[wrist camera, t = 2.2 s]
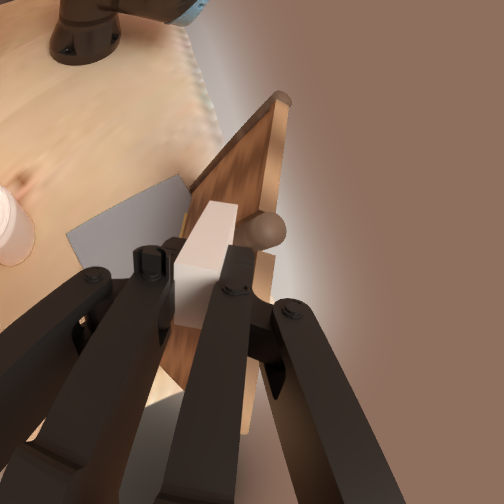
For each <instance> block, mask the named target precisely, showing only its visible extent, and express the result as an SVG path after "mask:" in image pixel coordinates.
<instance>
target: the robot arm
mask: <svg viewBox="0 0 504 504" xmlns="http://www.w3.org/2000/svg"><path fill="white" fill-rule="evenodd" d="M208 1H209V0H60V12H59V19H58V22H57V24H56V26H55V29H54V31H53V34H52V36H51V39H50V54H51V56H52V57H53V58H54V59H55V60H56V61H58V62H60V63H62V64H67V65H84V64H89V63H93V62H96V61H98V60H101V59H103V58H105V57H106V56H108V55H109V54H111V53H112V52H113V51H114V50H115V49H116V47H117V46H118V44H119V40H120V36H121V28H120V23H119V17H118V13H124V14H129V15H134V16H139V17H143V18H148V19H152V20H156V21H160V22H163V23H165V24H168V25H169V24H172V25H177V26H187V25H189V24H191V23H192V22H193V21H194V20H195V19H196V18H197V16H198V15H199V14H200V12H201V11H202V10H203V8H204V6H205V5H206V4H207V2H208ZM237 208H238V205H236V204H230V203H223V202H216V201H209V203H208V205H207V206H206V208H205V210H204V211H203V213H202V215H201V216H200V218H199V220H198V222H197V223H196V225H195V227H194V228H193V230H192V232H191V234H190V235H189V237H188V239H185V238H178V237H171V238H169V239H168V240H166V241H165V242H164V243H163V244H162V246H158V245H145V246H141V247H138V248H136V249H135V250H134V251H133V265H134V273H133V274H132V276H131V277H130V278H124V279H112V277H111V273H110V271H109V270H108V269H106V268H104V267H100V266H92V267H89V268H85V269H84V270H82V271H80V272H79V273H77V274H76V275H74V276H73V277H72V278H70V279H69V280H68V281H66V282H65V283H63V284H62V285H61V286H59V287H58V288H57V289H55V290H54V291H53V292H51V293H50V294H49V295H47V296H46V297H45V298H43V299H42V300H41V301H40V302H38V303H37V304H36V305H34V306H33V307H32V308H31V309H29V310H28V311H27V312H26V313H24V314H23V315H22V316H21V317H19V318H18V319H17V320H16V321H15V322H13V323H12V324H11V325H10V326H8V327H7V328H6V329H5V330H4V331H3V332H1V333H0V472H1V471H2V469H4V467H5V466H6V465H7V464H8V465H7V467H6V469H5V472H4V474H3V477H2V479H1V482H0V504H119V498H118V495H119V489H120V486H121V482H122V479H123V475H124V472H125V468H126V465H127V461H128V458H129V455H130V451H131V448H132V445H133V442H134V439H135V435H136V432H137V429H138V426H139V423H140V420H141V417H142V414H143V411H144V408H145V405H146V402H147V399H148V396H149V393H150V390H151V387H152V384H153V381H154V378H155V376H156V373H157V370H158V367H159V364H160V361H161V359H162V356H163V353H164V350H165V348H166V345H167V342H168V340H169V337H170V334H171V321H172V318H173V316H174V324H176V325H181V326H186V327H191V328H197V329H201V333H200V336H199V340H198V344H197V347H196V351H195V355H194V358H193V362H192V366H191V370H190V374H189V377H188V381H187V385H186V389H185V393H184V397H183V401H182V405H181V408H180V413H179V416H178V420H177V425H176V428H175V433H174V437H173V441H172V445H171V449H170V453H169V457H168V462H167V466H166V471H165V475H164V479H163V483H162V487H161V490H160V492H159V494H158V495H157V497H156V499H155V501H154V503H153V504H234V494H235V483H236V473H237V463H238V451H239V442H240V431H241V420H242V409H243V399H244V388H245V377H246V366H247V356H248V357H250V358H253V359H255V360H258V361H259V367H260V370H261V374H262V378H263V381H264V385H265V389H266V392H267V396H268V400H269V403H270V407H271V410H272V414H273V418H274V421H275V425H276V428H277V432H278V435H279V439H280V443H281V446H282V450H283V453H284V457H285V460H286V463H287V467H288V470H289V473H290V477H291V480H292V483H293V487H294V490H295V494H296V497H297V500H298V503H299V504H406V503H405V500H404V498H403V496H402V494H401V491H400V489H399V487H398V485H397V482H396V481H395V478H394V476H393V474H392V472H391V470H390V467H389V465H388V463H387V461H386V459H385V457H384V454H383V452H382V450H381V448H380V446H379V444H378V442H377V440H376V437H375V435H374V433H373V431H372V429H371V427H370V425H369V423H368V421H367V419H366V417H365V414H364V412H363V410H362V408H361V406H360V404H359V402H358V400H357V398H356V396H355V394H354V392H353V390H352V388H351V386H350V384H349V382H348V380H347V378H346V376H345V374H344V372H343V370H342V368H341V366H340V364H339V362H338V360H337V358H336V356H335V354H334V352H333V350H332V348H331V346H330V344H329V343H328V340H327V338H326V336H325V334H324V333H323V331H322V329H321V327H320V325H319V323H318V321H317V319H316V317H315V315H314V313H313V312H312V310H311V308H310V307H309V306H308V305H307V304H305V303H303V302H302V301H299V300H296V299H290V298H285V299H280V300H278V301H276V302H275V303H274V305H272V304H270V303H267V302H265V301H263V300H261V299H260V298H258V297H257V296H256V295H255V294H254V292H253V289H252V284H253V273H254V261H255V253H254V252H253V250H252V249H251V248H248V247H242V246H235V245H232V244H233V237H234V230H235V222H236V215H237ZM83 316H84V317H85V320H86V321H85V322H84V323H82V324H80V323H79V320H80V319H81V318H82V317H83ZM45 418H46V419H45ZM44 419H45V421H44V423H43V425H42V427H41V429H40V431H39V433H38V435H37V437H36V438H35V439H34V440H33V441H29V442H26V440H27V439H28V438H29V437H30V436H31V434H32V433H33V432H34V431H35V430H36V428H37V427H38V426H39V425H40V424H41V422H42V421H43V420H44Z"/></svg>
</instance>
